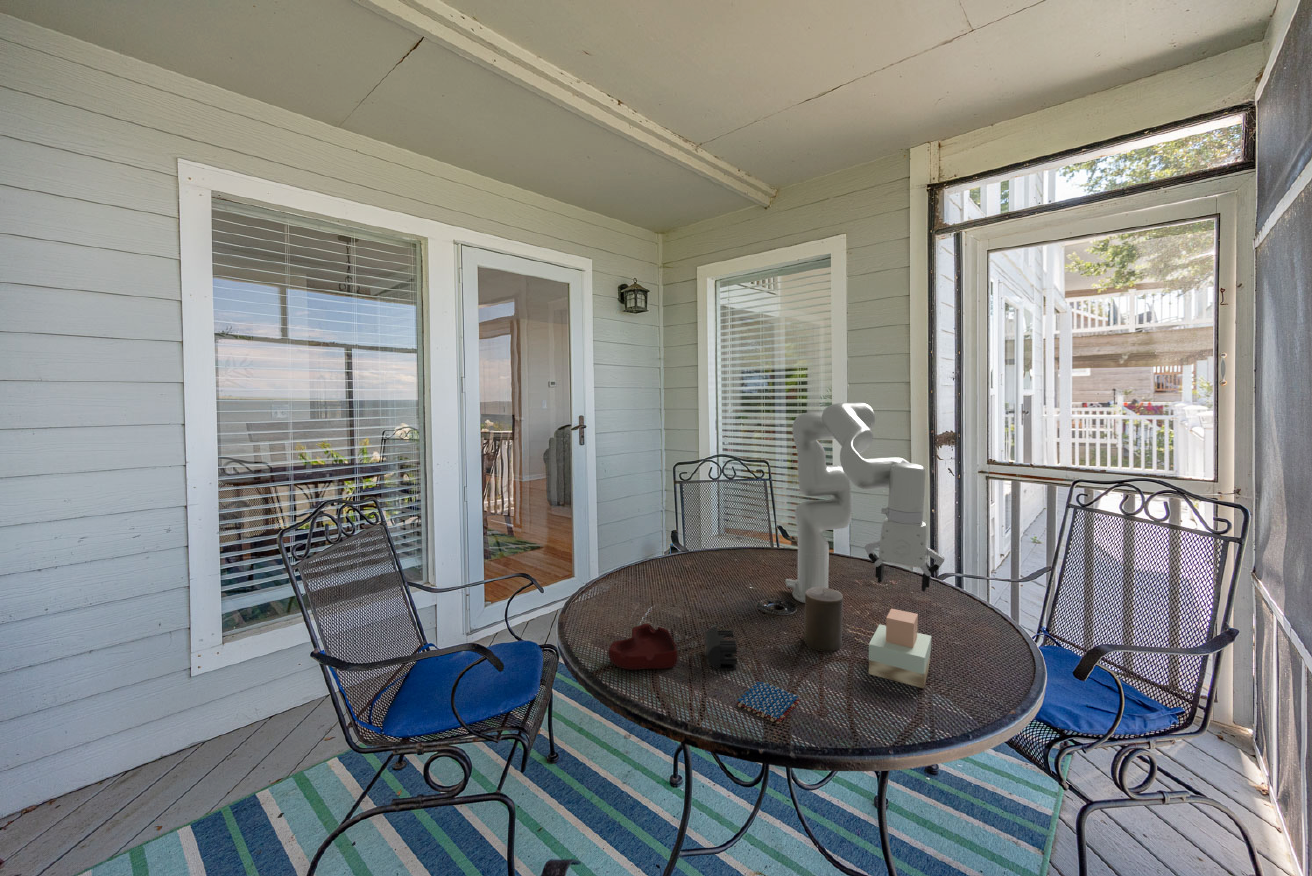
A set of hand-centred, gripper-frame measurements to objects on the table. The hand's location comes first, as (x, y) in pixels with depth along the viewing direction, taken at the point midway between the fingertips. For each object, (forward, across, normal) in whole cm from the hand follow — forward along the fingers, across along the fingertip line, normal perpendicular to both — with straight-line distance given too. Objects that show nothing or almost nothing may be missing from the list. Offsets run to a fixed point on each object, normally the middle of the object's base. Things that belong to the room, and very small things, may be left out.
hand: (901, 585), depth 129 cm
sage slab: (+18, 0, -1) cm, 18 cm away
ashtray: (+22, -54, -29) cm, 65 cm away
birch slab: (+22, 0, -1) cm, 22 cm away
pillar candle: (+22, -19, +3) cm, 29 cm away
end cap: (+22, -38, -20) cm, 48 cm away
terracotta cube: (+14, +1, 0) cm, 14 cm away
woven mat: (+22, -21, -30) cm, 43 cm away
